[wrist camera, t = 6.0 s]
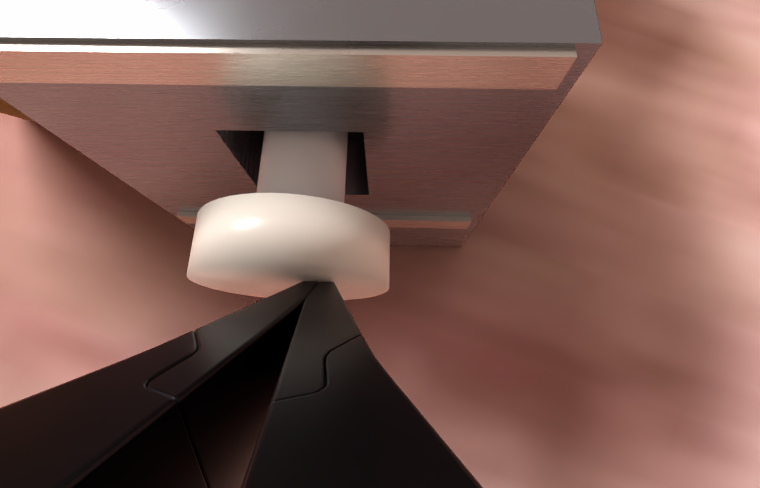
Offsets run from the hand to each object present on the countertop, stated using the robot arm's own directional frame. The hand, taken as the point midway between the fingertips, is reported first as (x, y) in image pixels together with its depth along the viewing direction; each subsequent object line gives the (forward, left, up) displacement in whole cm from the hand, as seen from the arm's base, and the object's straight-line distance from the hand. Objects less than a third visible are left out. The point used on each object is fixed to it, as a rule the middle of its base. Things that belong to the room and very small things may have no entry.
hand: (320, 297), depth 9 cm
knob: (+7, +1, -3) cm, 8 cm away
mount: (+10, +1, -8) cm, 12 cm away
